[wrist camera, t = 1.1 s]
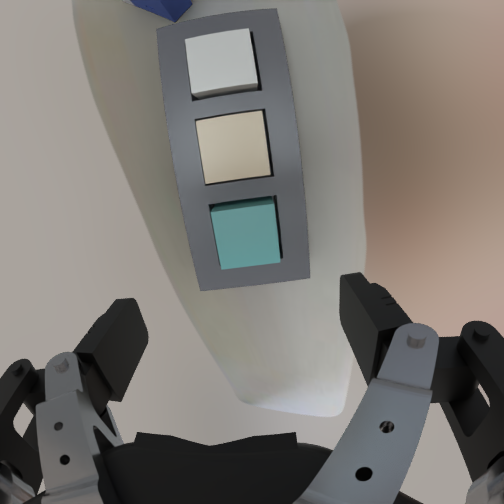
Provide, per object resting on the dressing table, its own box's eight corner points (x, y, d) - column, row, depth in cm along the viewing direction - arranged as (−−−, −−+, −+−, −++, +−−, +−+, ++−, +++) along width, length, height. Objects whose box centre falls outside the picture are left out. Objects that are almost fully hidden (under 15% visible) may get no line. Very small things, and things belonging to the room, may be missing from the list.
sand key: (203, 124, 21) (195, 121, 18) (260, 115, 21) (261, 110, 18) (212, 178, 23) (205, 184, 20) (267, 170, 23) (270, 174, 20)
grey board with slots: (169, 42, 20) (156, 29, 16) (273, 25, 19) (276, 8, 16) (206, 271, 29) (200, 291, 25) (303, 260, 28) (310, 278, 24)
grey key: (193, 52, 19) (184, 39, 15) (249, 43, 18) (248, 28, 15) (200, 100, 21) (191, 93, 17) (256, 91, 20) (257, 82, 17)
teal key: (216, 202, 24) (210, 212, 21) (271, 195, 24) (274, 203, 20) (225, 253, 26) (221, 269, 22) (277, 246, 25) (280, 262, 22)
